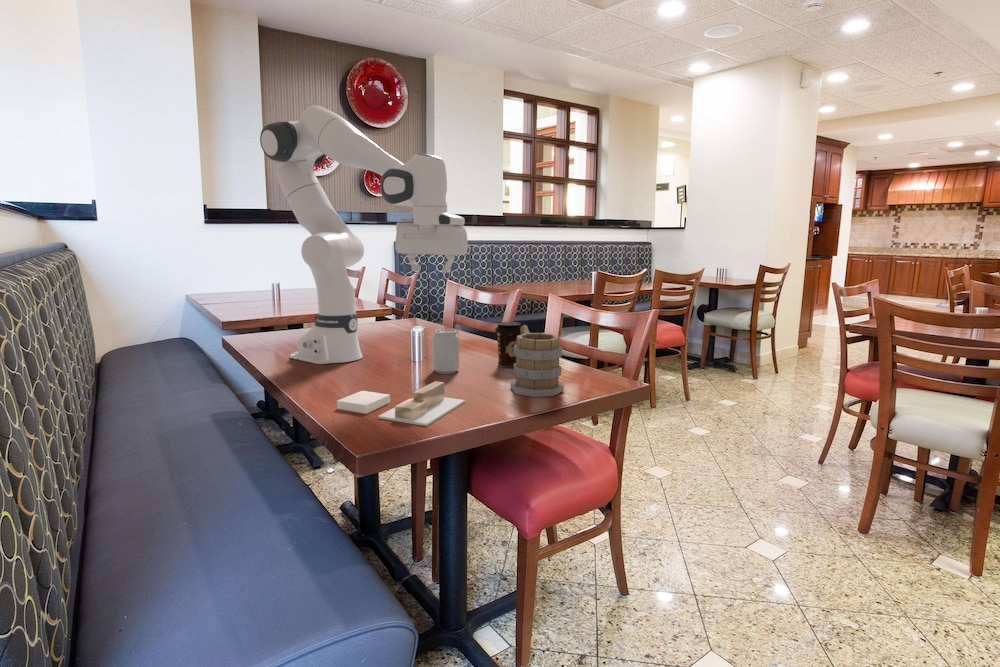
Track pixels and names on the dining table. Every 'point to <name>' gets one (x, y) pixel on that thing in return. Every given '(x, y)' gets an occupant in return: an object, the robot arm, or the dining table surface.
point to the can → (445, 351)
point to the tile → (363, 402)
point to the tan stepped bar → (420, 401)
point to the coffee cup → (507, 342)
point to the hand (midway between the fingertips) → (431, 271)
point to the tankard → (537, 364)
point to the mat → (430, 415)
